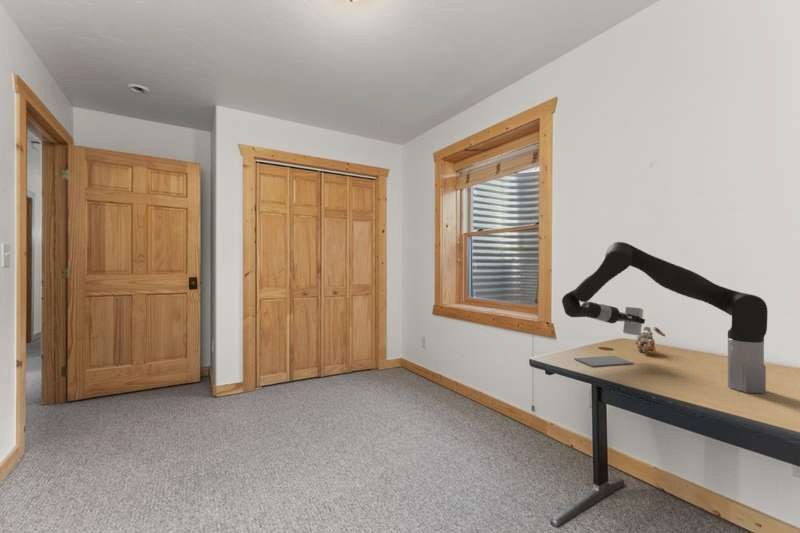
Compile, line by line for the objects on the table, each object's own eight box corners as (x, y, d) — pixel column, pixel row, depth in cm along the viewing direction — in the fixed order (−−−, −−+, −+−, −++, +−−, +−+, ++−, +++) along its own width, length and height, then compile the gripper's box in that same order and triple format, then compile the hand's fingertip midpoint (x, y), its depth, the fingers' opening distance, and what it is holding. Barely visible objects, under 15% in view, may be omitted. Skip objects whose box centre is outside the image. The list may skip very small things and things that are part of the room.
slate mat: (592, 367, 157) (592, 365, 157) (574, 359, 169) (574, 358, 169) (633, 364, 161) (633, 362, 161) (613, 356, 172) (613, 355, 172)
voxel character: (637, 357, 177) (631, 337, 189) (658, 364, 175) (651, 343, 187) (649, 340, 171) (641, 321, 183) (671, 347, 169) (662, 327, 181)
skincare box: (640, 336, 167) (644, 309, 168) (637, 334, 164) (640, 307, 165) (626, 333, 171) (629, 308, 173) (622, 332, 169) (625, 306, 170)
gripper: (617, 305, 160) (651, 313, 162) (595, 305, 175) (627, 312, 176) (614, 322, 159) (649, 330, 161) (593, 320, 174) (624, 328, 175)
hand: (637, 321), depth 169 cm, fingers closed on skincare box, 7 cm apart
